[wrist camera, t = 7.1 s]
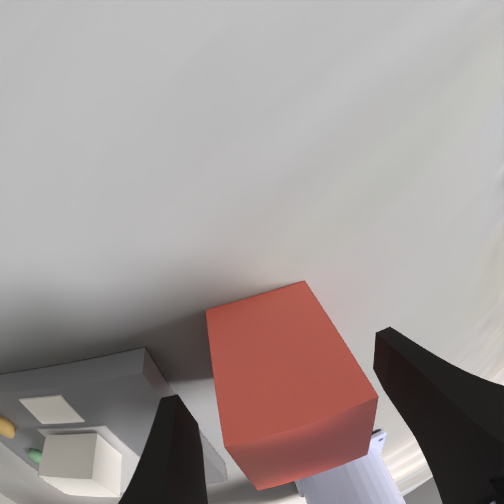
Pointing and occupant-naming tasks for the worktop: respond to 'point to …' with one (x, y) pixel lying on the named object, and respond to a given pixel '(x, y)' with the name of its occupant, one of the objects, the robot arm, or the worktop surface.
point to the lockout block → (287, 387)
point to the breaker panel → (90, 408)
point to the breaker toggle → (81, 465)
